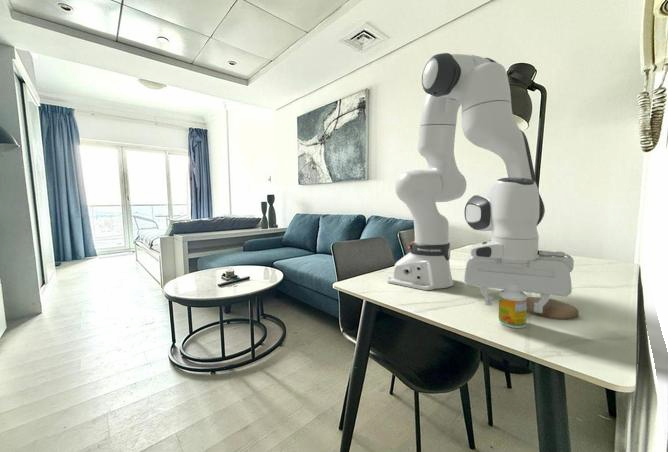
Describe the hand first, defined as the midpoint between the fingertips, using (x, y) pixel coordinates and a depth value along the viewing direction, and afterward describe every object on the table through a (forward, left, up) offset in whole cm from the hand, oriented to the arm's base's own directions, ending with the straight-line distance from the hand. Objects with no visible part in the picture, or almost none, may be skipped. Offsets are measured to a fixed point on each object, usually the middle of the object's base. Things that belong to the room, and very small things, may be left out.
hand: (512, 308), depth 63 cm
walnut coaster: (+8, +13, -4) cm, 16 cm away
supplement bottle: (0, 0, -4) cm, 4 cm away
